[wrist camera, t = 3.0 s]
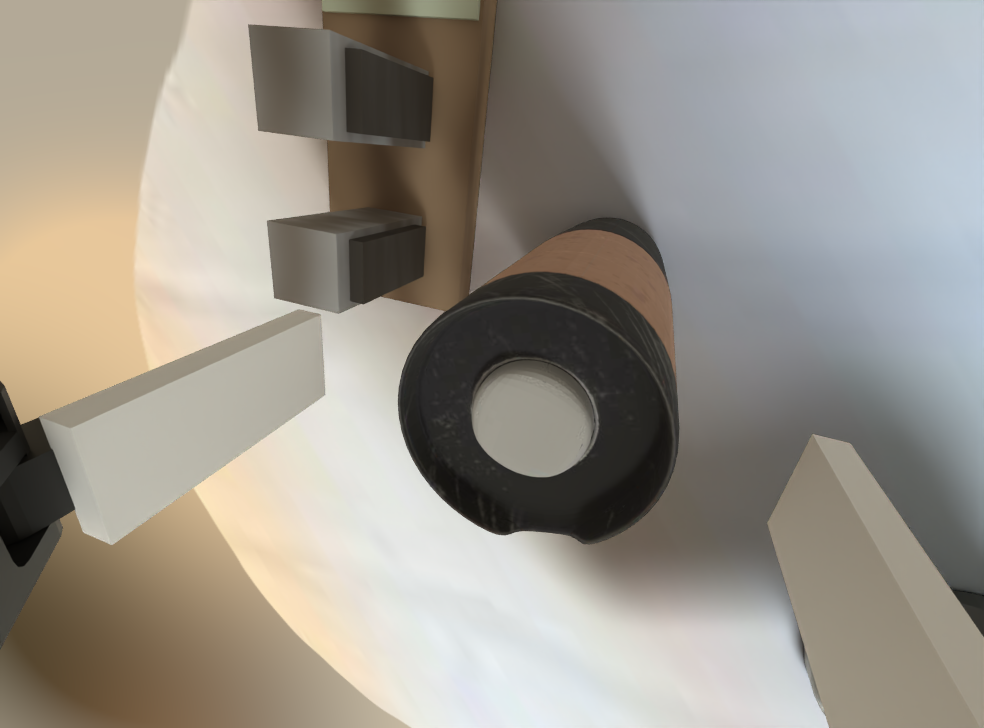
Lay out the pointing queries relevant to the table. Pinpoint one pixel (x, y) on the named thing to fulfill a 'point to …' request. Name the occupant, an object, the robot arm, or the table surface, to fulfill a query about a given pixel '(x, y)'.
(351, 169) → the board with grey blocks
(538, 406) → the travel mug
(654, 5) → the table surface
